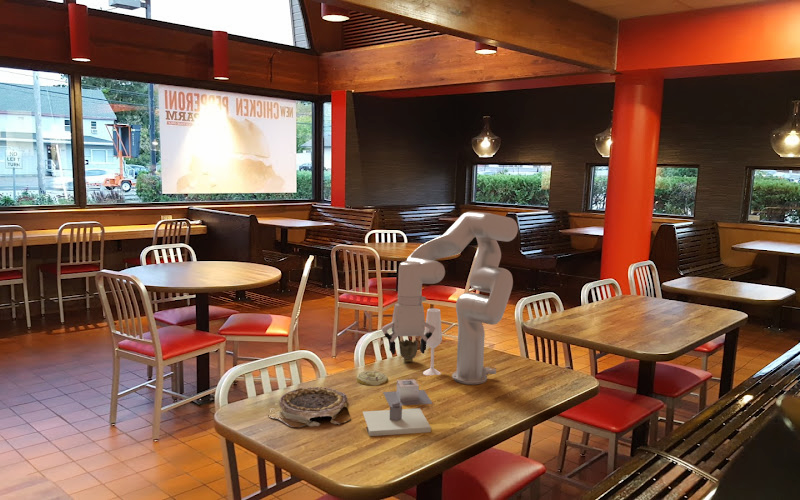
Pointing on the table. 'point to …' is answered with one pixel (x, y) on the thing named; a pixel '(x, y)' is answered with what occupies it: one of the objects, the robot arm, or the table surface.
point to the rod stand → (393, 397)
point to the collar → (407, 390)
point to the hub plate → (396, 421)
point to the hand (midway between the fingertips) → (407, 352)
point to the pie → (311, 405)
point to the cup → (408, 350)
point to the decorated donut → (371, 378)
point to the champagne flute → (433, 336)
